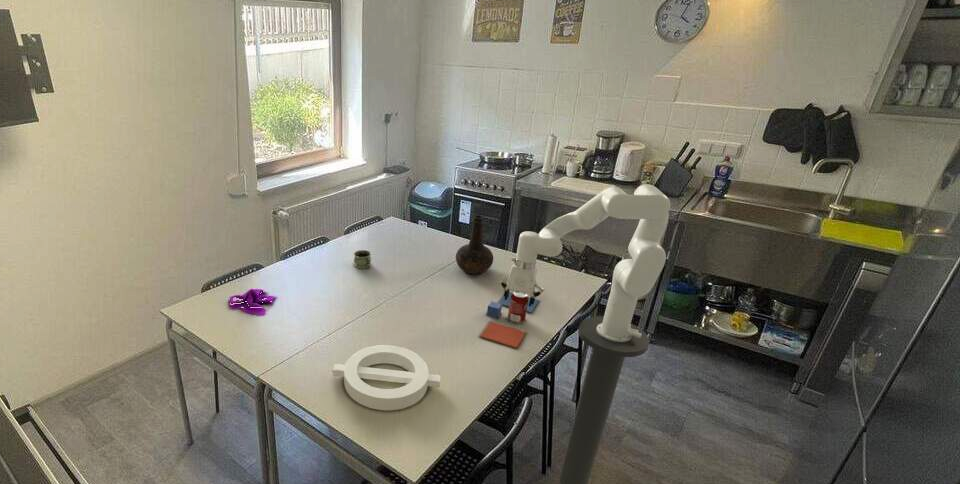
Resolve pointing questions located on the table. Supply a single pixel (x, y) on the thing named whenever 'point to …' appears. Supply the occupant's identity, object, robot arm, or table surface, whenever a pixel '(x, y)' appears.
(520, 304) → the soda can
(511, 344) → the orange mat
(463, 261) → the brown vase
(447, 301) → the table surface
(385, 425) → the table surface
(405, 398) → the white circle with bar
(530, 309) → the blue mat
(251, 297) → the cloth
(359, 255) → the vessel
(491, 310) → the blue block
